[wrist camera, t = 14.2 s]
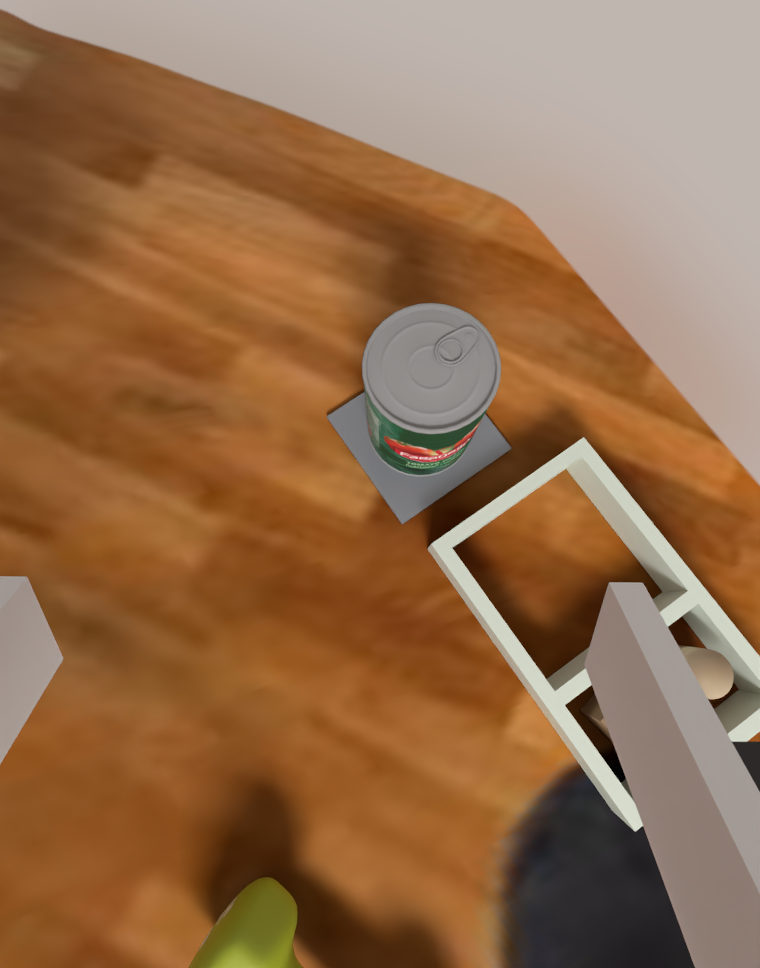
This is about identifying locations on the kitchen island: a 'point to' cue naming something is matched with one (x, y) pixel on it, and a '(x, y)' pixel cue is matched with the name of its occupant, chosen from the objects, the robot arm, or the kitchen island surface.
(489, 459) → the slate coaster
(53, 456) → the kitchen island surface
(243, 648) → the kitchen island surface
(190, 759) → the kitchen island surface
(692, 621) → the caddy
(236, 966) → the dumbbell
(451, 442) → the canned tomato
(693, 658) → the beech dowel
